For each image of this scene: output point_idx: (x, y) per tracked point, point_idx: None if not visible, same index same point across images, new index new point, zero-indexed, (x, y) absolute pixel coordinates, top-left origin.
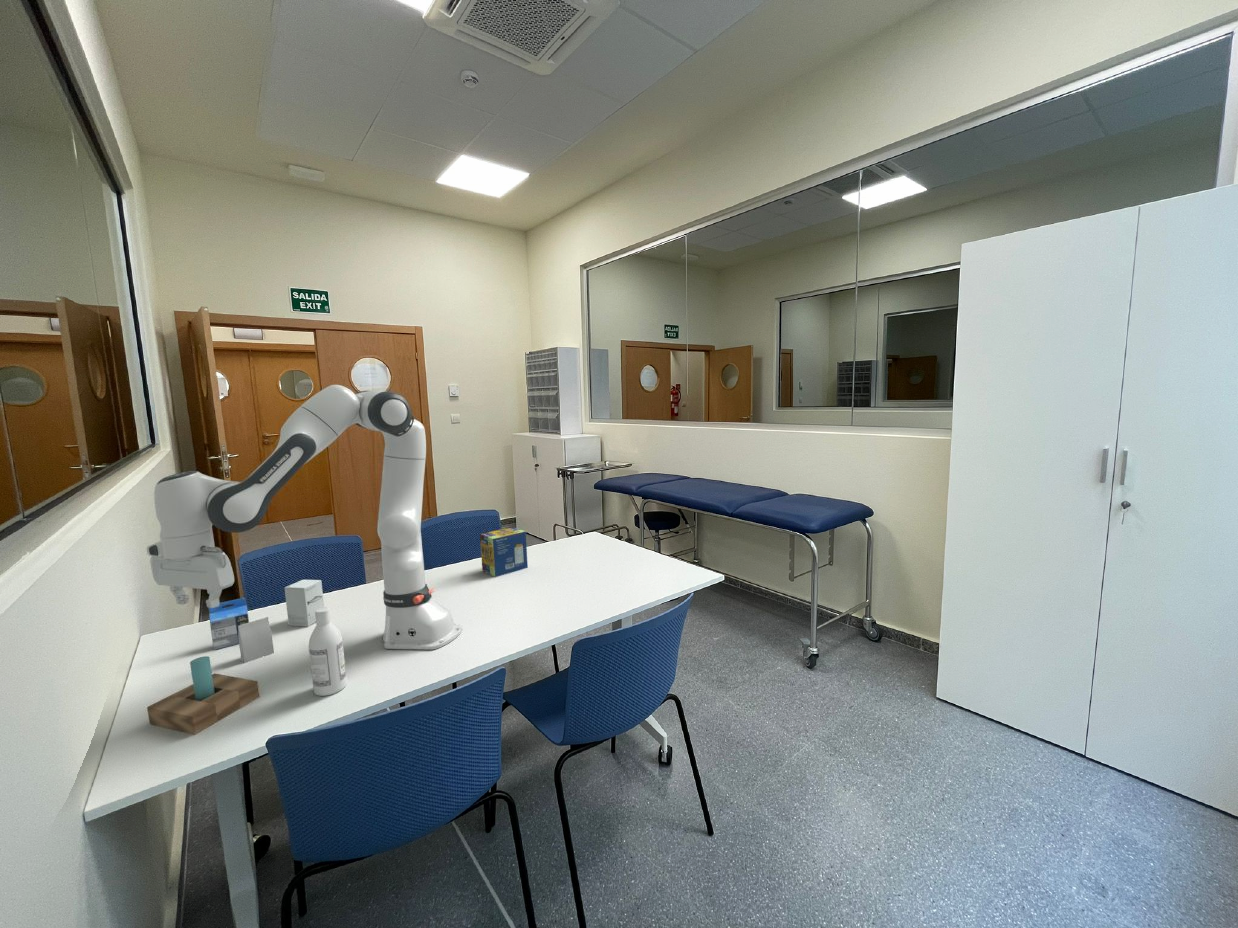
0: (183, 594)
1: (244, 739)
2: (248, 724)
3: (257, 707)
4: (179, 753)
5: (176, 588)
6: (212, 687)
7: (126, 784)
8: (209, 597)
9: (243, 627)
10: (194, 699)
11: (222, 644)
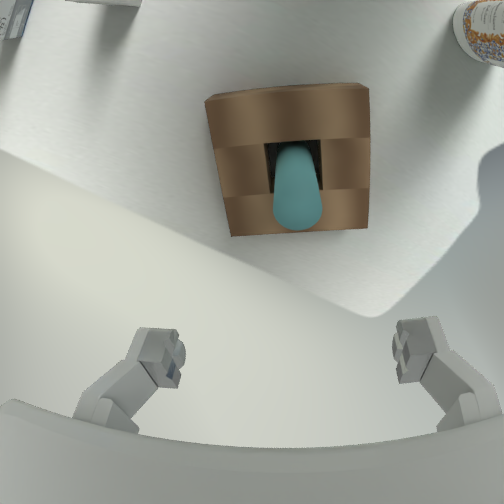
0: (142, 372)
1: (454, 194)
2: (428, 163)
3: (395, 115)
4: (383, 244)
5: (133, 426)
6: (311, 161)
7: (374, 295)
8: (439, 399)
9: None
10: (268, 169)
11: (21, 22)
